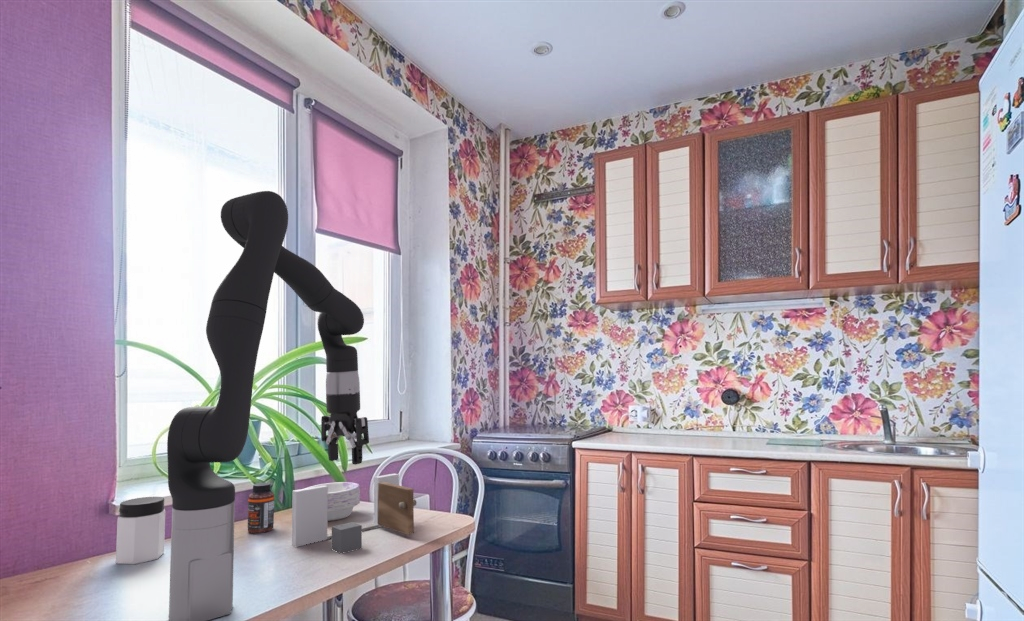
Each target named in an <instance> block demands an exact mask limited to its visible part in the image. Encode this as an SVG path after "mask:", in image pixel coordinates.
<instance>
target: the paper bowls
mask: <svg viewBox="0 0 1024 621" xmlns="http://www.w3.org/2000/svg"><path fill="white" fill-rule="evenodd" d="M323 485H324V486H328V511H327V522H331V521H332V522H333V521H338V520H342V519H345V518H347V517H349V516H350V515H351V514H352V512H353V510H354V507H355V506H358V505H359V504H360V503H361V486H360V484H359V483H357V482H351V481H338V482H328V483H327V482H326V483H320V484H316V485H311V486H308V487H307V486H306V488H311V487H317V486H323Z"/></svg>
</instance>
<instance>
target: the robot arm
mask: <svg viewBox="0 0 1024 621" xmlns="http://www.w3.org/2000/svg"><path fill="white" fill-rule="evenodd" d="M220 209H221V210H220V220H221V224H222V227H223V228H224V230H225V232H226V233H227V234H228V235H229V237H231V238H232V239H233V241H234V242H236V243H237V244H238V245H240V247H242V248H243V250H242V252H241V254H240V256H239V257H238V260H236V262H235V264H234V265H233V266H232V268H231V269H230V270H229V272H228V273H227V274H226V275H225V277H224V279H223V280H222V281H221V283H220V284H219V285H218V287H217V289H216V291H215V292H214V295H213V297H212V300H211V305H210V308H209V312H208V317H207V321H206V327H205V334H206V339H207V341H208V344H209V348H210V350H211V352H212V354H213V357H214V358H215V361H216V363H217V366H218V368H219V373H220V388H219V396H218V401H217V403H216V406H215V405H213V406H212V405H211V406H189V407H184V408H182V409H180V410H179V411H177V412H176V414H175V415H174V417H172V420H171V422H170V425H169V428H168V432H167V440H166V441H167V443H166V444H167V446H166V447H167V449H166V451H167V485H168V491H169V494H170V496H171V503H172V505H171V506H172V508H171V531H170V533H171V534H170V535H171V538H170V562H169V564H170V565H169V568H170V570H169V601H168V603H169V604H168V605H169V606H168V620H169V621H211V620H214V619H217V618H221V617H224V616H227V615H230V614H231V613H232V609H233V606H234V603H233V602H234V601H233V600H234V559H235V558H234V557H235V556H234V551H235V550H234V549H235V545H234V544H235V508H236V507H235V506H236V505H235V504H236V487H235V485H234V483H232V482H231V481H229V480H227V479H225V478H223V477H221V476H220V475H218V473H216V472H215V471H214V470H213V469H212V467H211V463H229V462H232V461H235V460H236V459H237V458H238V457H239V456H240V455H241V453H242V452H243V451H244V450H243V449H244V448H245V445H246V441H247V437H248V433H249V427H250V420H251V419H250V418H251V407H252V406H251V405H252V395H253V387H254V379H255V378H254V377H255V373H256V372H255V371H256V365H257V359H258V353H259V347H260V344H261V339H262V335H263V330H264V325H265V320H266V316H267V309H268V303H269V296H270V293H271V289H272V283H273V278H274V275H277V276H278V277H279V278H280V279H281V280H283V281H284V283H285V284H287V285H288V286H289V287H290V289H291V290H292V291H293V292H294V293H295V294H296V295H297V296H298V297H299V298H300V299H301V301H302V302H303V303H304V304H305V305H306V306H307V307H308V308H309V309H310V310H311V311H313V312H316V313H319V314H318V316H317V331H318V334H319V337H320V340H321V342H322V347H323V350H324V352H325V358H326V359H325V363H326V364H325V365H326V366H325V367H326V370H325V371H326V378H325V399H326V400H325V403H326V405H325V406H326V412H327V413H328V415H322V416H321V419H320V422H321V424H320V425H321V426H320V429H321V434H320V436H321V438H320V439H321V442H325V443H326V445H327V455H328V461H329V462H334V461H337V460H339V443H338V442H339V440H340V438H341V437H345V439H346V440H348V441H349V443H350V445H351V464H352V465H360V464H362V462H363V446H365V445H368V444H369V443H370V437H369V435H370V434H369V425H368V424H369V423H368V417H366V416H365V417H364V416H363V417H358V412H359V411H360V410H361V389H360V388H361V387H360V384H361V383H360V377H359V364H358V363H359V362H358V361H359V360H358V358H359V357H358V350H357V348H356V347H355V346H353V345H348V344H346V343H345V341H344V338H343V336H351V335H356V334H357V333H359V332H360V331H361V330H362V329H363V327H364V323H365V318H364V314H363V312H362V310H361V308H360V307H359V306H358V305H357V304H356V302H354V301H353V300H351V299H350V298H349V297H348V296H346V295H345V294H344V293H343V292H341V291H339V290H337V289H336V288H335V287H334V286H333V284H332V283H331V282H330V281H329V280H328V278H327V277H326V276H325V275H324V274H323V272H322V271H321V270H320V269H318V268H317V266H315V264H313V263H311V262H310V261H308V260H306V259H305V258H303V257H302V256H299V255H297V254H296V253H295V252H292V251H291V250H289V249H288V248H286V247H284V246H283V243H284V241H285V237H286V234H287V231H288V227H289V226H288V225H289V213H288V212H289V211H288V208H287V203H286V202H285V200H284V199H283V197H282V196H281V195H280V194H278V193H277V192H274V191H272V190H271V191H270V190H263V191H257V192H253V193H252V192H251V193H248V194H245V195H241V196H240V195H239V196H236V197H233V198H231V199H228V200H227V201H226V202H225V203H224V204H223V205H222V206H221V208H220ZM327 431H328V432H327ZM362 436H363V437H362Z"/></svg>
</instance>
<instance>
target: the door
mask: <svg viewBox="0 0 1024 621" xmlns="http://www.w3.org/2000/svg"><path fill="white" fill-rule="evenodd" d="M417 503H418V502H417V500H416V499H414V488H411V487H407V486H402V485H400V484H399V485H394V484H390V483H386V482H378V524H379V525H380V526H382V527H384V528H387V529H390V530H393V531H395V532H399V533H402V534H405V535H411V534H414V532H415V531H414V528H415V527H414V526H415V524H414V520H415V519H414V514H415V512H414V511H415V510H414V507H415V506H417Z"/></svg>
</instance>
